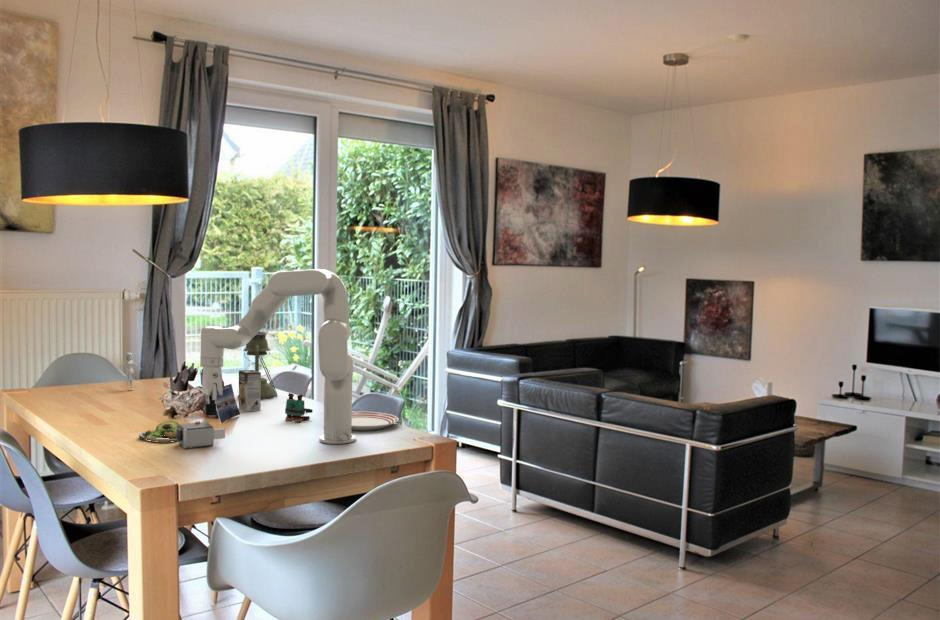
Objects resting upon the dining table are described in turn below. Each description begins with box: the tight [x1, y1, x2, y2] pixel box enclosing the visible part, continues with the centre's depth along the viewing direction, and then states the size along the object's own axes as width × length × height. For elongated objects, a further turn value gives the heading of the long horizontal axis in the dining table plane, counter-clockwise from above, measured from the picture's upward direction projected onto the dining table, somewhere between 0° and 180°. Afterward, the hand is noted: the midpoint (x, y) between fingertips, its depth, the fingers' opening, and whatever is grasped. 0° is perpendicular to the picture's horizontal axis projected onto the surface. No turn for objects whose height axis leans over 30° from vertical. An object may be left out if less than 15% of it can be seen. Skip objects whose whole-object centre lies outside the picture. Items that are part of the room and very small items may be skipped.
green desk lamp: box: [237, 331, 278, 401], centre depth 351 cm, size 21×18×30 cm
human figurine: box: [115, 352, 143, 389], centre depth 362 cm, size 12×4×18 cm, turn 134°
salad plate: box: [138, 420, 180, 443], centre depth 266 cm, size 19×18×5 cm
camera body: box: [176, 421, 214, 449], centre depth 256 cm, size 9×10×7 cm
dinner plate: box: [352, 411, 400, 431], centre depth 292 cm, size 27×27×3 cm
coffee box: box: [238, 369, 262, 412], centre depth 320 cm, size 9×6×16 cm
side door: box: [183, 427, 226, 449], centre depth 253 cm, size 1×13×6 cm, turn 121°
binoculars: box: [284, 392, 314, 423], centre depth 301 cm, size 9×11×10 cm
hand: (210, 414), depth 265 cm, fingers closed
